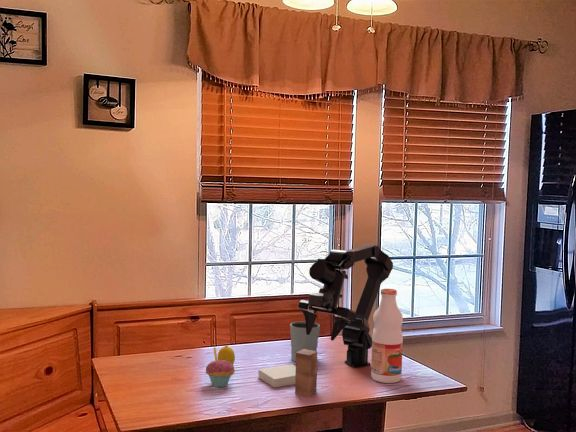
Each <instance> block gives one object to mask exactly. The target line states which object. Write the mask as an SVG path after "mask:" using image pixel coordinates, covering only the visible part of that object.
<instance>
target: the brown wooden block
mask: <svg viewBox="0 0 576 432" xmlns="http://www.w3.org/2000/svg"><path fill="white" fill-rule="evenodd" d="M295 366H296V374H295V384H294V388H295V389H294V394H296V395H299V396H304V397H308V398H309V397H312V395H314V394H316V393H317V388H318V387H317V386H318V384H317V382H318V350H317V351H312V350H307V349H303V350H300V351H298V352H296V362H295Z"/></svg>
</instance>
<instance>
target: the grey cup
mask: <svg viewBox="0 0 576 432" xmlns="http://www.w3.org/2000/svg"><path fill="white" fill-rule="evenodd" d="M289 327H290V330H289V331H290V337H291V338H290V347H291V348H290V353H291V356H290V357H291V360H292V361H293V362H295V363H296V352H298V351H300V350H303V349H307V350H312V351H317V352H318V343H319V336H320V334H319V333H320V327H321V326H320V324H319V323H317V322H314V325H313V327H312V330H311V332H310V334H309V335H307V334H306V322H305V320H304V321H303V320H302V321H293V322H291V323H289Z"/></svg>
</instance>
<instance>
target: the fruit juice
mask: <svg viewBox="0 0 576 432" xmlns="http://www.w3.org/2000/svg"><path fill="white" fill-rule="evenodd" d="M380 295H381V299H380V303H379V306H378V307H377V309H375V311H374V313H373V315H372V316H373V319H372V321H373V326H374V327H373V330H372V334H371V338H372V347H371V360H370V361H371V362H370V363H371V365H370V367H371V368H370V376H371V379H372V380H373V381H376V382H378V383H382V384H383V383H384V384H393V383H398V382H400V381H401V380H402V374H403V373H402V371H403V370H402V369H403V368H402V366H403V343H404V342H403V338H404V337H403V335H404V334H403V331H402V326H403V323H404V322H403V320H404V317H403V313H402V312H401V310H400V308H399V307H398V303H397V300H396V297H397V296H398V290H396V289H394V288H382V289H380Z"/></svg>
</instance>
